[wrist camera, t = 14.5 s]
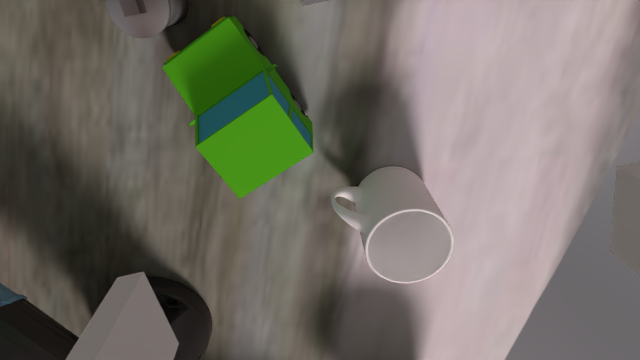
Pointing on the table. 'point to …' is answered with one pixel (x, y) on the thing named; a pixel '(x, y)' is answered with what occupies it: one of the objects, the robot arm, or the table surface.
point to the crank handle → (311, 1)
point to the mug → (398, 225)
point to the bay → (146, 15)
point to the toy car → (239, 107)
